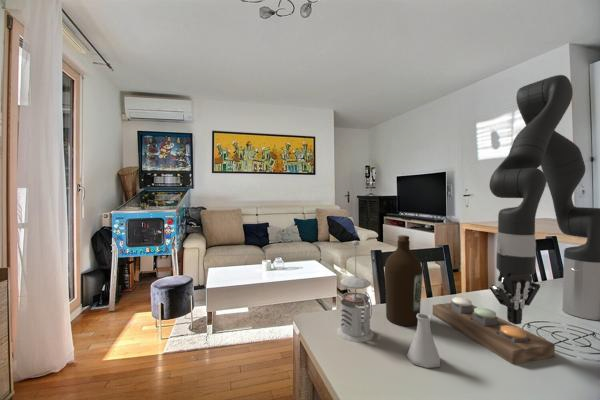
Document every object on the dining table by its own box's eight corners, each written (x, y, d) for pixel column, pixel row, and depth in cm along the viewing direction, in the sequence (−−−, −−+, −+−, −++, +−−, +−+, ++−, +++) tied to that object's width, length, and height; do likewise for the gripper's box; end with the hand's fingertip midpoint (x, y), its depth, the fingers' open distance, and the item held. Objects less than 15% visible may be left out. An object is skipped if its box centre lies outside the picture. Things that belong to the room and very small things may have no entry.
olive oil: (379, 321, 83) (380, 236, 82) (389, 309, 92) (390, 232, 91) (418, 331, 77) (419, 240, 77) (424, 317, 86) (426, 235, 85)
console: (465, 310, 91) (465, 301, 91) (554, 357, 65) (554, 344, 65) (432, 314, 88) (432, 304, 88) (512, 364, 63) (512, 350, 63)
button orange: (511, 339, 72) (511, 324, 72) (531, 349, 67) (531, 334, 67) (495, 341, 71) (495, 326, 71) (514, 352, 66) (514, 336, 66)
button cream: (462, 308, 87) (462, 296, 87) (475, 315, 82) (475, 302, 82) (448, 310, 86) (448, 297, 86) (461, 317, 81) (461, 304, 81)
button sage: (484, 320, 80) (484, 306, 79) (500, 328, 75) (500, 314, 75) (469, 322, 78) (469, 308, 78) (484, 330, 74) (485, 316, 73)
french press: (361, 321, 83) (362, 236, 82) (385, 341, 72) (386, 243, 71) (331, 326, 80) (331, 238, 79) (351, 348, 69) (351, 246, 68)
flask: (445, 371, 60) (446, 324, 60) (409, 367, 62) (410, 321, 61) (436, 352, 67) (436, 310, 67) (404, 348, 69) (404, 308, 68)
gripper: (522, 247, 73) (521, 313, 74) (479, 250, 70) (478, 319, 71) (554, 253, 66) (552, 326, 66) (508, 257, 63) (506, 333, 63)
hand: (514, 322), depth 69 cm, fingers closed
